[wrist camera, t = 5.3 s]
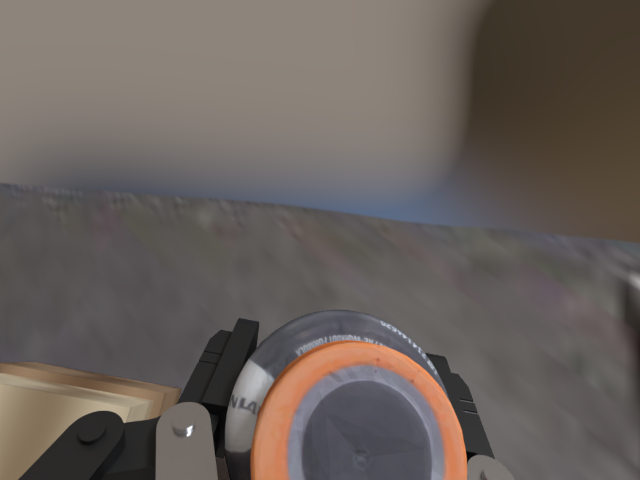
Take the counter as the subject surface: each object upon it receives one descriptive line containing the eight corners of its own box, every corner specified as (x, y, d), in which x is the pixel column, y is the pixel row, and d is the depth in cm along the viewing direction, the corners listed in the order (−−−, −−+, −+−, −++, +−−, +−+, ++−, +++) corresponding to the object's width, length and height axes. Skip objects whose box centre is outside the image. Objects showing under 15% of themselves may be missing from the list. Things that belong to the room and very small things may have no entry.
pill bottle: (231, 418, 16) (108, 538, 6) (297, 306, 18) (302, 235, 7) (343, 491, 16) (448, 781, 5) (401, 368, 18) (569, 388, 7)
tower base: (-39, 542, 21) (-169, 612, 15) (34, 362, 24) (-50, 363, 18) (131, 573, 20) (64, 656, 15) (181, 388, 24) (143, 398, 18)
